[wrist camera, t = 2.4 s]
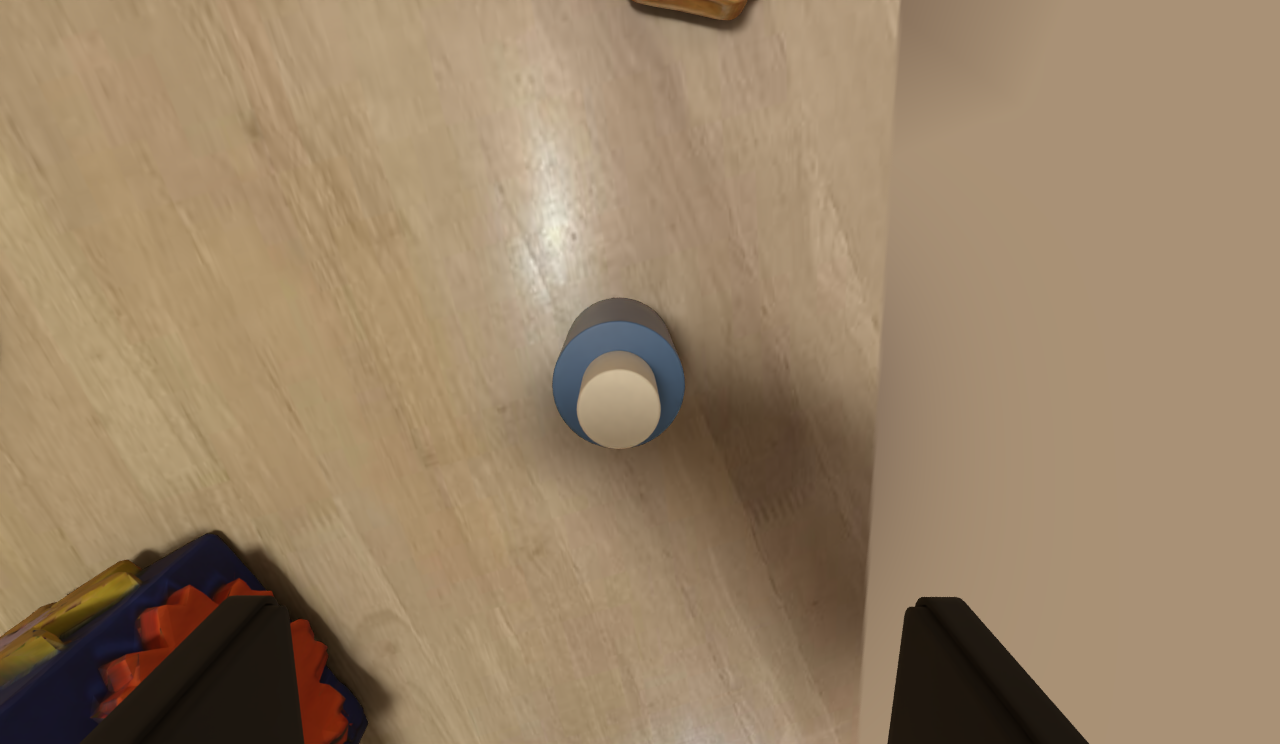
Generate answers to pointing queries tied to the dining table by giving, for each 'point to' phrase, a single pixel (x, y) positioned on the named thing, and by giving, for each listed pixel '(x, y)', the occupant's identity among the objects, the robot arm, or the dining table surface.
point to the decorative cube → (143, 648)
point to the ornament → (702, 7)
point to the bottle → (618, 375)
